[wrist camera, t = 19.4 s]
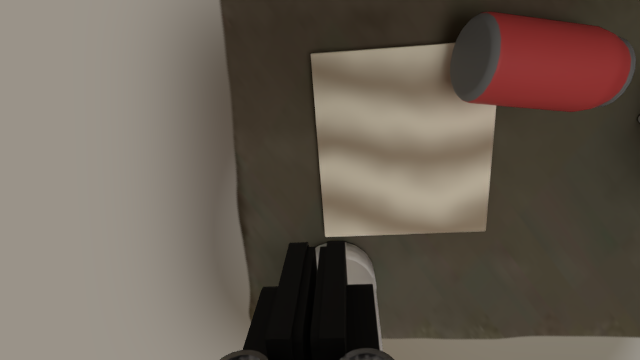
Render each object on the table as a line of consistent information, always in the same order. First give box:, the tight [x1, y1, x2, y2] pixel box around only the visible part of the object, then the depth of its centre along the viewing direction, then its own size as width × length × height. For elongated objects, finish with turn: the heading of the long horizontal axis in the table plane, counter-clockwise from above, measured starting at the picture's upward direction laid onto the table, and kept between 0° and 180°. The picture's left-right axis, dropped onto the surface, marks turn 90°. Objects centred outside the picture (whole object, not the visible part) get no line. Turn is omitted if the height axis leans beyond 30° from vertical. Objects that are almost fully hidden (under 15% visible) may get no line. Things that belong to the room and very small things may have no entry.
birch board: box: [311, 42, 496, 237], centre depth 38 cm, size 18×16×1 cm
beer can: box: [450, 12, 636, 112], centre depth 31 cm, size 7×7×12 cm
